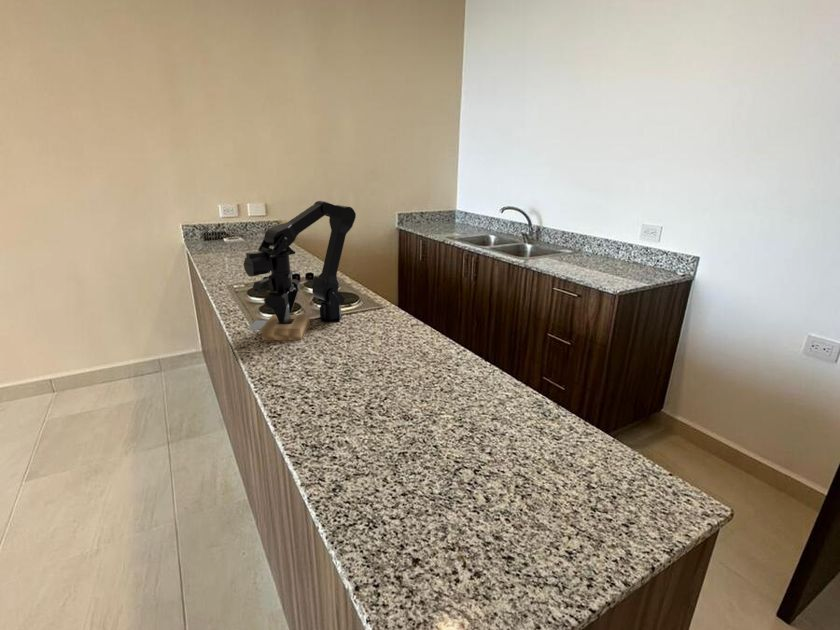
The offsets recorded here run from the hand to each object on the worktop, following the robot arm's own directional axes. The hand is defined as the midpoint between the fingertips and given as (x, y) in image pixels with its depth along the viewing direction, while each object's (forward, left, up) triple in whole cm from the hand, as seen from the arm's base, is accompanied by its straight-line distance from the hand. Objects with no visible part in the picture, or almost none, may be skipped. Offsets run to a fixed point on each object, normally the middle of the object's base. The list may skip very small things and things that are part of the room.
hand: (285, 317), depth 147 cm
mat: (+10, -6, -5) cm, 13 cm away
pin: (0, 0, -5) cm, 5 cm away
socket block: (0, 0, -5) cm, 5 cm away
